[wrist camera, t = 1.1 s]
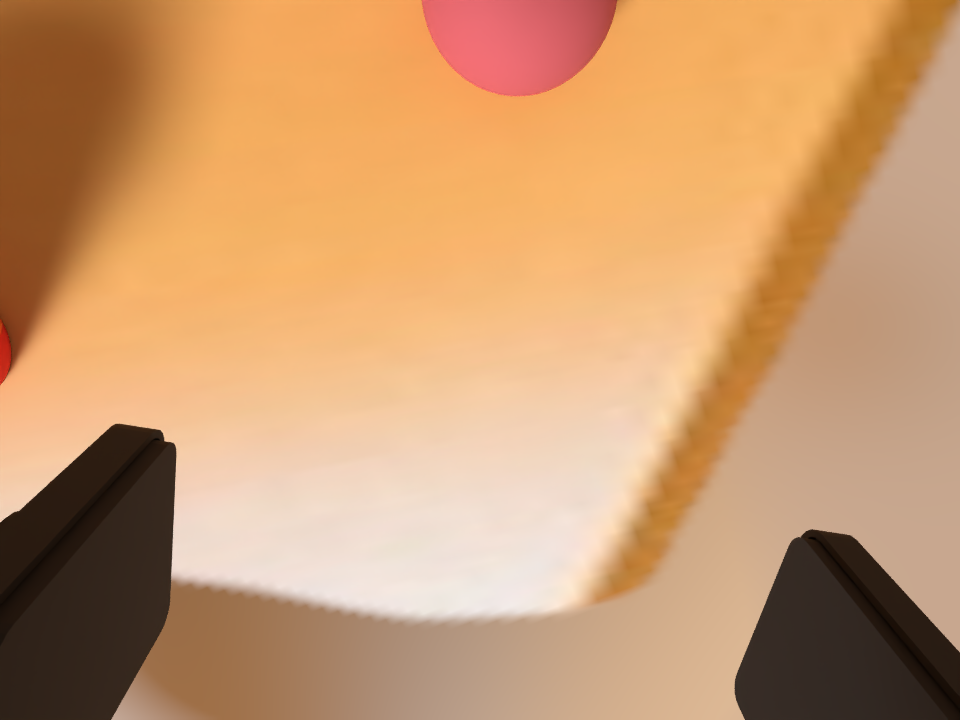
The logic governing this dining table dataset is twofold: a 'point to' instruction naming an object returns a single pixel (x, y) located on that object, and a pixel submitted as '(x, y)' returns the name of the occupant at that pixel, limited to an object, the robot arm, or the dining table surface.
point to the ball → (518, 40)
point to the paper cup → (4, 352)
